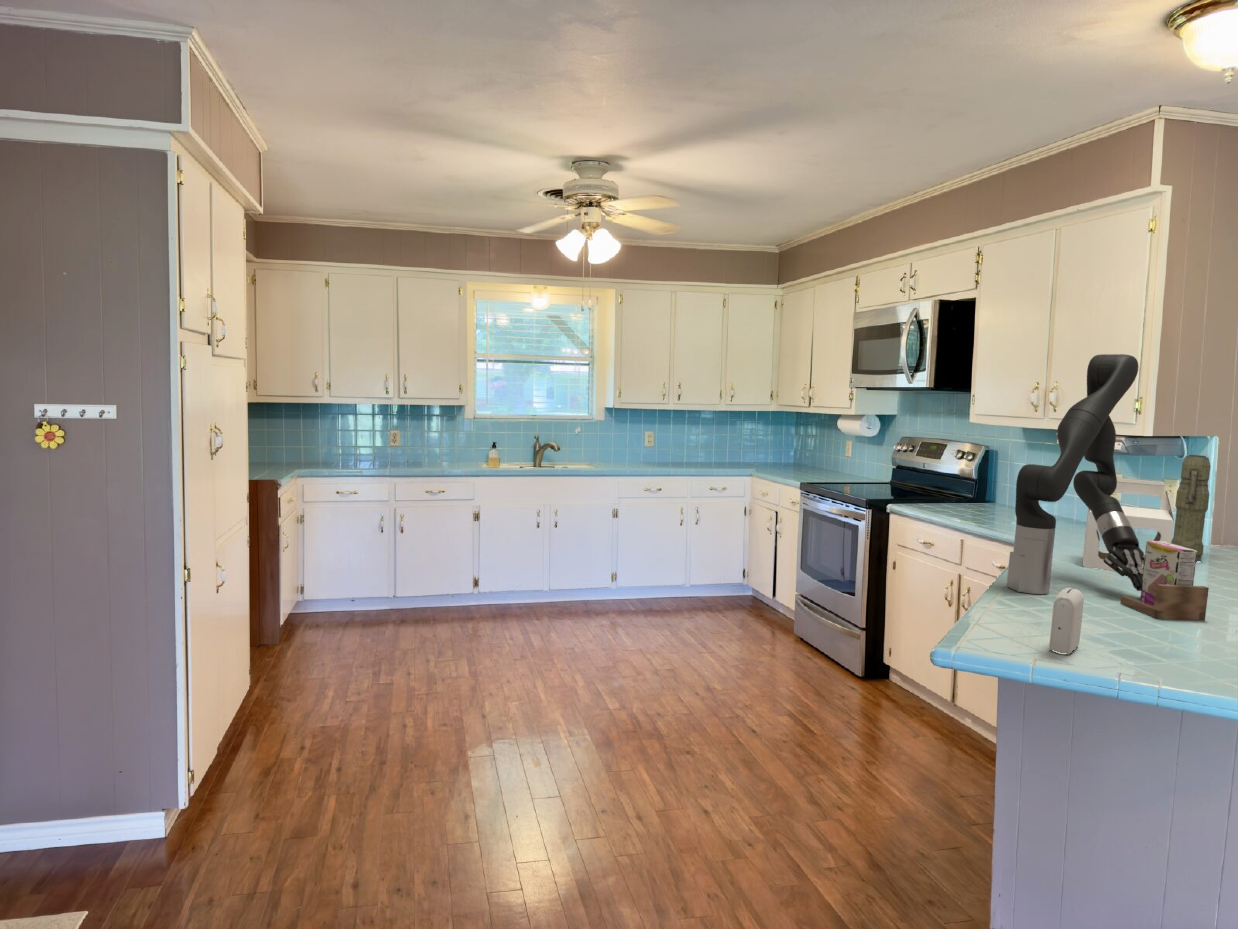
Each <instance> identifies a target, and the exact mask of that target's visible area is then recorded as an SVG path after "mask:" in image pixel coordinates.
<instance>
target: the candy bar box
mask: <svg viewBox="0 0 1238 929" xmlns="http://www.w3.org/2000/svg"><path fill="white" fill-rule="evenodd" d="M1144 555H1145V561H1144V571H1143V580H1142V589H1141V591H1140V597H1139V598H1140V599H1139V601H1141V602H1143V603H1146V604H1148V605H1151V606H1153V607H1154V604H1155V595H1156V586H1157V584H1164V585H1188V586H1194V584H1195V573H1196V572H1195V571H1196V565H1197V564H1196V557H1197V551H1196V550H1193V549H1189V548H1186V547H1182V546H1178V545H1175V544H1171V543H1168V542H1164V541H1154V540H1147V541H1146V543H1145V553H1144Z"/></svg>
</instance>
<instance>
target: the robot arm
mask: <svg viewBox="0 0 1238 929" xmlns="http://www.w3.org/2000/svg"><path fill="white" fill-rule="evenodd" d="M1138 373H1139V361H1138V359H1137V358H1136V357H1135V356H1133V355H1130V354H1123V353H1122V354H1121V353H1120V354H1117V353H1116V354H1115V353H1114V354H1110V353H1109V354H1108V353H1107V354H1106V353H1105V354H1096V355H1094V356H1093V357H1091V359H1089V363H1088V365H1087V371H1086V397H1084V398H1083V399H1080V400H1079V401H1078V402H1076V403H1075V404H1073V405H1072V406H1071V407H1070V408H1069V409H1068V410H1067V411H1066V413H1065V415H1064V416H1063V417H1062V419H1061V421H1060V422H1059V424H1058V426H1057V430H1056V434H1057V440H1058V446H1059V448H1060V455H1059V457H1058V459H1057V461H1056V462H1055V463H1054V464H1053V465H1052V466H1051V465H1044V464H1043V465H1042V464H1034V463H1033V464H1032V463H1029V464H1028V463H1027V464H1025V465H1023V466H1022V467H1021V468H1020V469H1019V472H1018V474H1017V478H1016V481H1015V482H1016V483H1015V484H1016V485H1015V507H1014V508H1015V509H1014V512H1015V517H1016V520H1015V533H1014V541H1013V543H1014V544H1013V551H1010V552H1009V559H1008V570H1007V580H1006V587H1007V588H1009V589H1011V590H1014V591H1015V592H1018V593H1025V594H1032V595H1034V594H1035V595H1047V594H1049V593H1050V587H1051V577H1052V576H1051V574H1052V567H1053V566H1052V565H1053V554H1054V547H1055V536H1056V535H1055V534H1056V526H1057V519H1056V516H1054V515H1052V514H1051V513H1048V512H1047V511H1046V510H1044V509H1043V508H1042V507H1041V505H1040V502H1048V503H1056V502H1058V501H1060V500H1061V499H1062V498H1063V497H1064V496H1065V494H1066V493H1067V490H1068V489H1069V486H1070V484H1071V483H1072V480H1073V489H1074V491H1075V494H1077V496H1078V497H1079V499H1080V500H1081V501H1082V502H1083V503H1084V504H1085V506H1086V507H1087V509H1088V508H1089V509H1090V510H1091V511H1092V514H1093V516H1094V518H1095V521H1096V523H1097V526H1098V528H1097V530H1098V533H1099V536H1100V537H1101V539H1102V541H1103V544H1104V546H1105V548H1106V551H1107V553H1109V555H1108V556H1107V557H1106V558H1105V559H1104V563H1106V564H1107V565H1108V566H1109V567H1111V568H1112V569H1113V570H1115V571H1116V572H1115V571H1114V572H1115V573H1117V574H1118V575H1120V576H1121V577H1127V578H1128V579H1130V582H1131V584H1132V586H1133V588H1134V589H1136V591H1137V592H1141V589H1142V580H1143V571H1144V566H1143V568H1142V564H1143V565H1144V561H1145V553H1144V551H1143V550H1142V549H1141V548H1140V542H1139V540H1138V537H1137V535H1136V533H1135V531H1134V529H1133V528H1132V526H1131V524H1130V522H1129V520H1128V519H1127V517H1126V516H1125V514H1124V512H1123V510H1122V508H1121V505H1122V504H1120V501H1119V500H1118V499H1117V498H1116V497H1113V496H1112V495H1113V494H1114V493H1115V492H1114V491H1115V489H1116V487H1117V478H1118V477H1117V473H1116V467H1115V458H1114V453H1115V448H1116V447H1115V446H1116V440H1117V432H1116V428H1115V425H1114V423H1113V420H1112V418H1111V416H1110V414H1111V413H1112V411H1113V410H1114V409H1115V407H1116V406H1117V404H1118V403H1119V401H1120V400H1121V399H1122V398H1123V397H1124V396H1125V394H1126V393H1127V392H1128V391H1129V389H1130V388H1131V387H1132V385H1133V383H1134V382H1135V381H1136V378H1137V376H1138ZM1083 458H1084V459H1085V461H1087V462H1090V463H1093V464H1094V465H1095V466H1096V469H1097V471H1096V470H1095V471H1094V470H1081V471H1078V472H1077V473H1076V471H1077V470H1078V468H1079V465H1080V464H1081V462H1082V460H1083ZM1141 561H1142V562H1143V563H1142V562H1141ZM1118 567H1120V568H1121V569H1122V570H1121V569H1120V568H1118Z"/></svg>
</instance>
